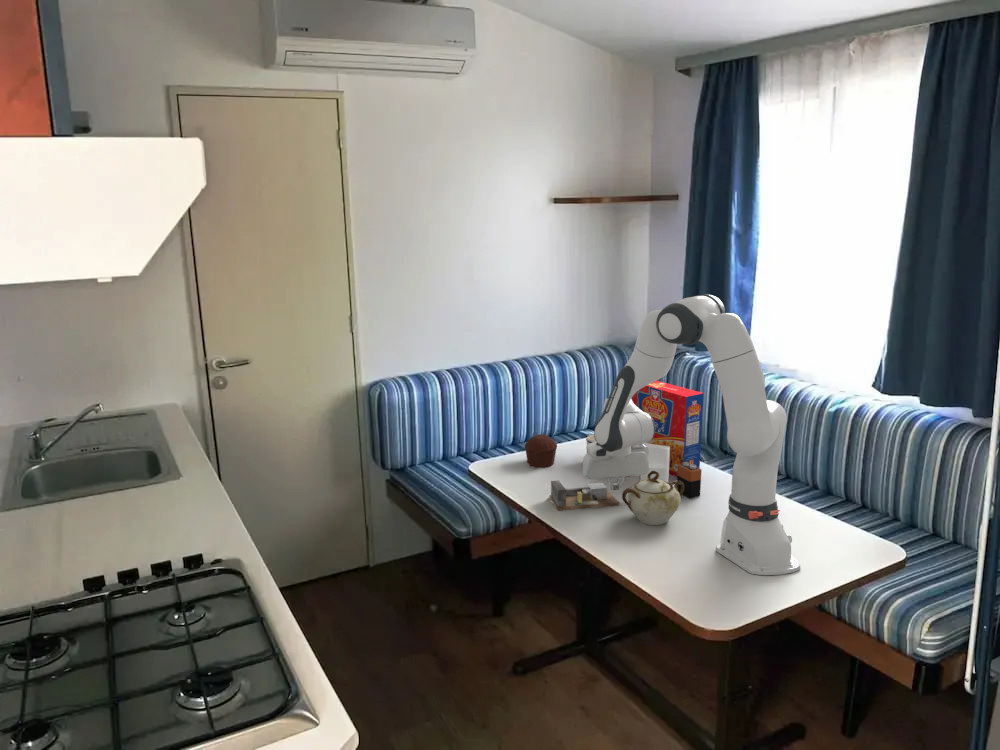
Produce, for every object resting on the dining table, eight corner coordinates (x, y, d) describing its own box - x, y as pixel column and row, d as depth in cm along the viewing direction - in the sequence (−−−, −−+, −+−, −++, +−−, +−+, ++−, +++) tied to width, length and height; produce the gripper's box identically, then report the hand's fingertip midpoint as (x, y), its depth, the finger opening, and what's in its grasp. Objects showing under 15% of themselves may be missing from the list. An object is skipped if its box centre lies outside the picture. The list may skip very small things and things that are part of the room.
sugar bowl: (633, 534, 223) (635, 483, 220) (610, 514, 237) (611, 465, 233) (696, 525, 229) (699, 475, 225) (670, 505, 243) (672, 458, 239)
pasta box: (623, 456, 287) (625, 380, 280) (639, 452, 291) (642, 376, 285) (682, 479, 264) (686, 396, 258) (699, 474, 269) (703, 393, 262)
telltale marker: (580, 500, 242) (580, 491, 242) (581, 502, 241) (582, 493, 240) (577, 501, 242) (577, 491, 242) (578, 503, 241) (578, 493, 240)
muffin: (557, 469, 274) (557, 441, 271) (524, 469, 274) (524, 441, 272) (556, 458, 285) (556, 431, 283) (524, 458, 286) (525, 430, 283)
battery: (689, 499, 248) (690, 468, 245) (675, 491, 254) (677, 461, 251) (700, 496, 249) (702, 466, 247) (686, 489, 255) (688, 459, 253)
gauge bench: (608, 493, 253) (608, 475, 251) (618, 505, 243) (619, 486, 242) (549, 498, 249) (549, 479, 248) (557, 510, 240) (558, 491, 238)
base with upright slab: (671, 479, 265) (673, 444, 262) (663, 488, 257) (665, 452, 254) (645, 474, 269) (646, 440, 266) (636, 483, 261) (637, 448, 258)
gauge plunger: (602, 493, 249) (602, 482, 248) (609, 502, 243) (609, 491, 242) (580, 495, 248) (580, 484, 247) (587, 504, 241) (587, 492, 240)
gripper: (645, 441, 249) (643, 483, 252) (581, 445, 245) (580, 488, 249) (652, 447, 243) (651, 490, 246) (587, 452, 239) (586, 496, 242)
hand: (615, 489), depth 247 cm, fingers closed
